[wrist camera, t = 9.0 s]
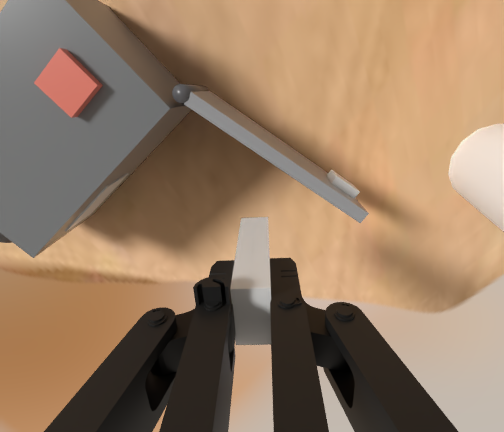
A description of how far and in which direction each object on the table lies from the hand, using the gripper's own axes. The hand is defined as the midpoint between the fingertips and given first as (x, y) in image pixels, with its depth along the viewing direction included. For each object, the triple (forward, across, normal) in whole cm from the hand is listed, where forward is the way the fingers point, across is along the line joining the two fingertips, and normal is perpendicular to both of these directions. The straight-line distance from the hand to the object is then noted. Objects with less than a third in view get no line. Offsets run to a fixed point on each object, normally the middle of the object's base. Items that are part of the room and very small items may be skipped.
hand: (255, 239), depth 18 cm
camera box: (+10, -14, +5) cm, 18 cm away
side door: (+10, +1, +4) cm, 11 cm away
